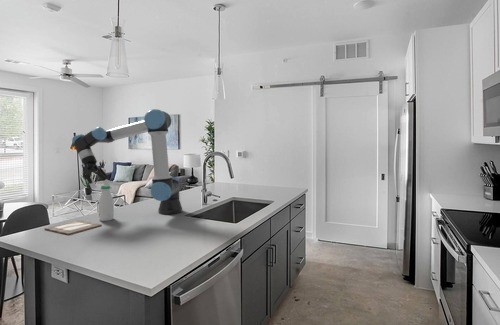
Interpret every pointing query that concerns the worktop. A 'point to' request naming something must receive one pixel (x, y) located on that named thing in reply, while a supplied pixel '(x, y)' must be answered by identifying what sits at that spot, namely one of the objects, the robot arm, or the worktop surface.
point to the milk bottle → (106, 204)
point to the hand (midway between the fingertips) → (102, 189)
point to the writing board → (73, 227)
